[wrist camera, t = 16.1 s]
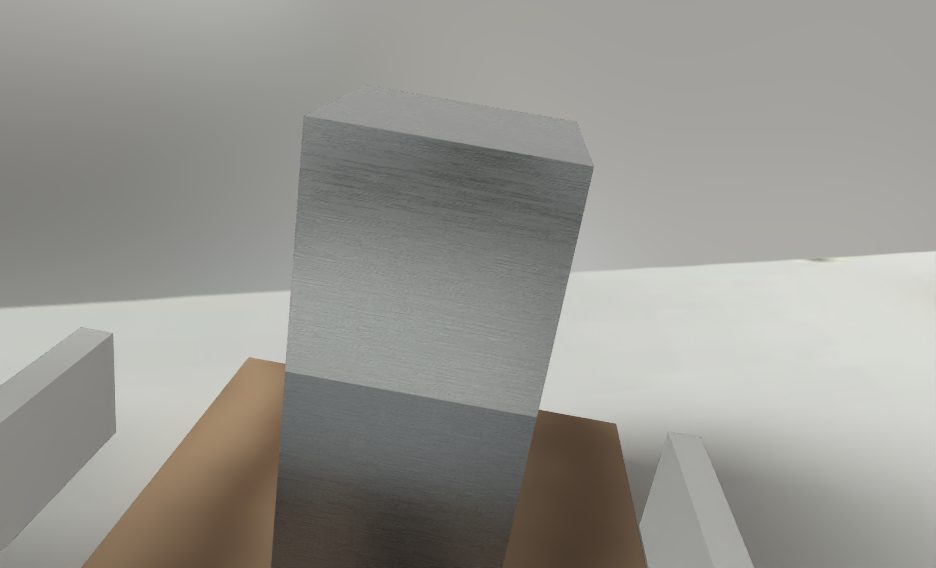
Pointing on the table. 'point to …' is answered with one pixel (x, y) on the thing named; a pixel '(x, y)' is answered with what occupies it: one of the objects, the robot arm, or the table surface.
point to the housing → (420, 326)
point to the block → (255, 483)
